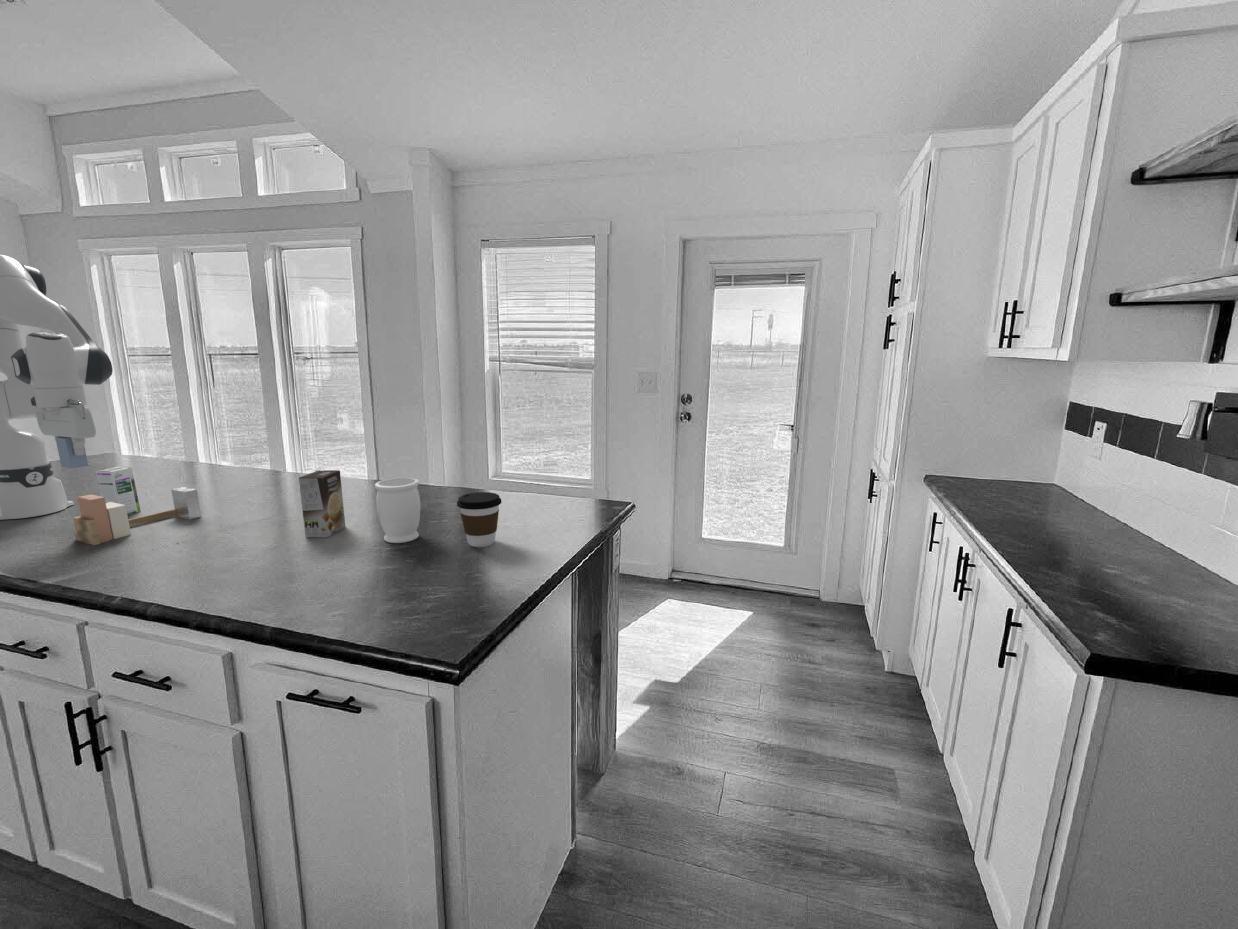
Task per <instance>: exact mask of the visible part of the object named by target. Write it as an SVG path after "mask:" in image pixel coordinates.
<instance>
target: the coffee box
mask: <svg viewBox="0 0 1238 929" xmlns="http://www.w3.org/2000/svg"><path fill="white" fill-rule="evenodd" d="M298 484H299V491H300V500H301V502H300V503H301V509H302V517H303V518H302V519H303V527H304V536H305V538H325V539H326V538H329V537H332V536H333V535H335V534H336V533H338V532H339V531H341V530H342V529H345V528H346V518H345V507H344V498H343V489H342V488H343V486H342V477H341V470H339V469H337V470H334V469H333V470H329V469H327V470H326V469H324V470H316V471H314V472H310V473H308V474H305V475H302V476H300V477H298Z"/></svg>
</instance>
